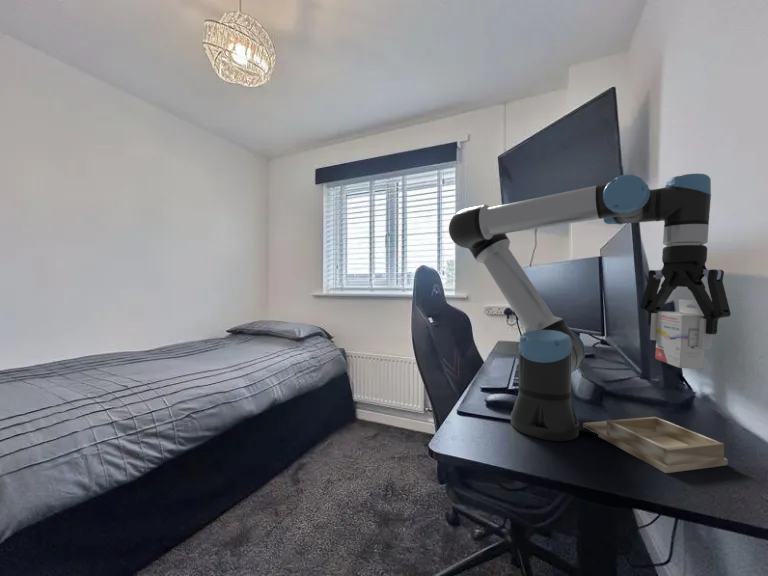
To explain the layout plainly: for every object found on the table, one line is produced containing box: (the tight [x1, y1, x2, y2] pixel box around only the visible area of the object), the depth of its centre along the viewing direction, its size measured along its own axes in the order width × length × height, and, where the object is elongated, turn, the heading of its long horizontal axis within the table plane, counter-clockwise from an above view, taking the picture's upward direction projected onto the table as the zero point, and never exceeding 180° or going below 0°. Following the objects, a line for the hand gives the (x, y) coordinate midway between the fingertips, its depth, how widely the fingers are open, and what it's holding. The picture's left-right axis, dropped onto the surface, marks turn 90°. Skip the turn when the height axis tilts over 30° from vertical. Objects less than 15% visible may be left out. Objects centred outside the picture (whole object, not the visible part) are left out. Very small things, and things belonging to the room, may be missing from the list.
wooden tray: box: [582, 416, 729, 474], centre depth 74 cm, size 20×15×4 cm
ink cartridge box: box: [654, 299, 705, 370], centre depth 76 cm, size 9×5×15 cm, turn 171°
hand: (678, 344), depth 76 cm, fingers closed on ink cartridge box, 9 cm apart
